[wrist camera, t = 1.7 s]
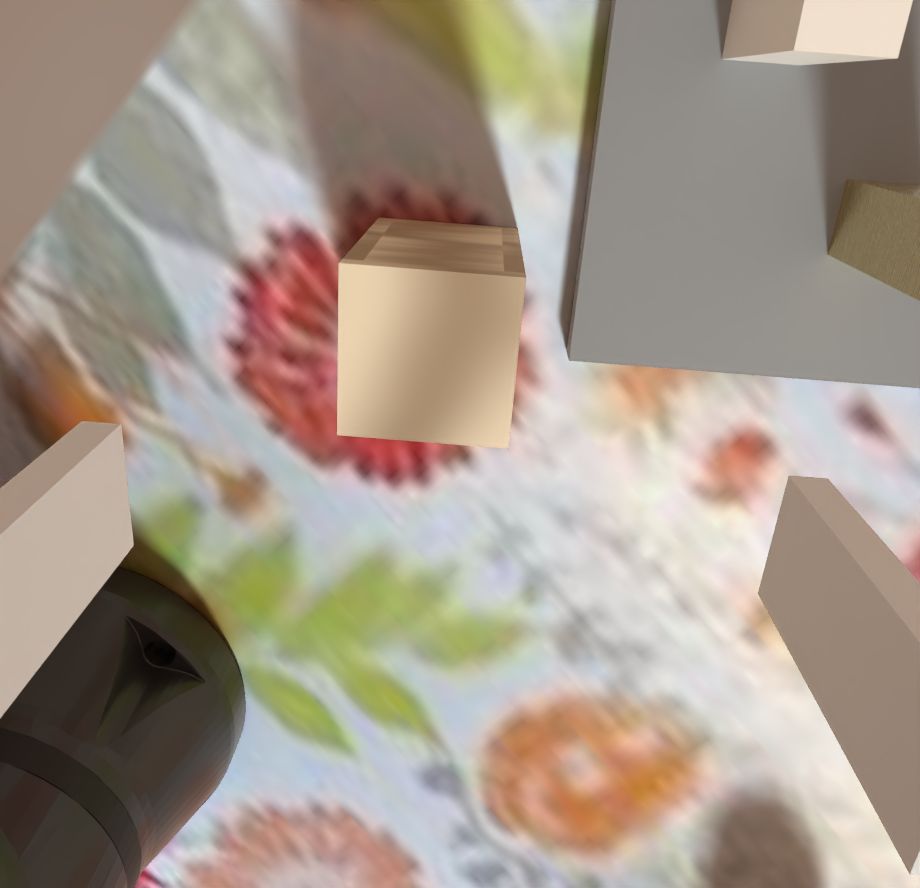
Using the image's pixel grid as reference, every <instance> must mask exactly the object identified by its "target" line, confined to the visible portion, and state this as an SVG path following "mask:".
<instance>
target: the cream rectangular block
mask: <svg viewBox="0 0 920 888" xmlns="http://www.w3.org/2000/svg"><path fill="white" fill-rule="evenodd" d="M912 2H913V0H732V5H731V11H730V16H729V22H728V27H727V33H726V38H725V44H724V49H723V55H722V59H724V60H737V61H750V62H764V63H777V64H790V65H812V64H826V63H840V62H854V61H868V60H882V59H896V58H898V56H899V52H900V48H901V44H902V40H903V37H904V33H905V29H906V25H907V21H908V17H909V14H910V10H911V6H912Z"/></svg>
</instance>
